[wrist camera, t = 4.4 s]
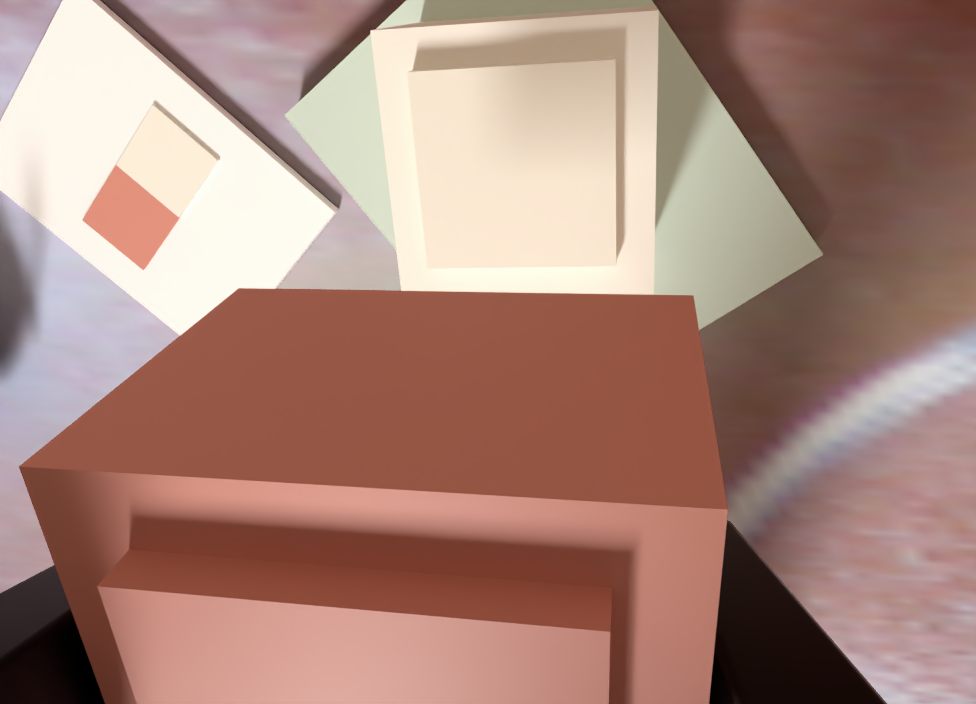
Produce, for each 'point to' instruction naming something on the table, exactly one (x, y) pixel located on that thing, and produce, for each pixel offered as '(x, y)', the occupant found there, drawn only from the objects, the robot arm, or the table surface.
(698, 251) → the plate
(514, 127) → the cream block
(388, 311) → the red block
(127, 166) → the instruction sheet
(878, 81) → the table surface
